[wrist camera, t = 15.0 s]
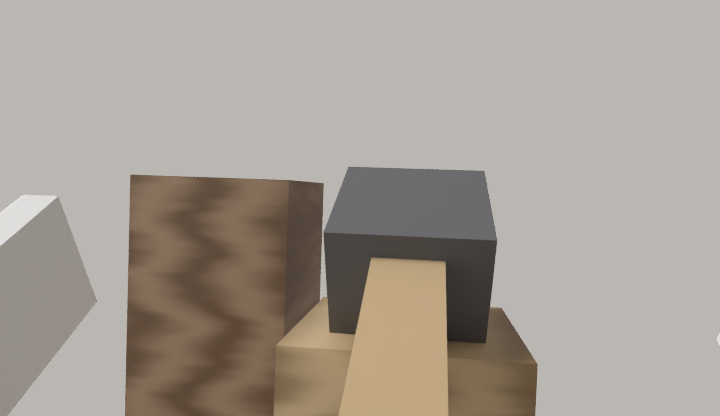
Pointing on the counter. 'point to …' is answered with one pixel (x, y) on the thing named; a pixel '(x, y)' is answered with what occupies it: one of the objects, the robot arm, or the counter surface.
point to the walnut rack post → (216, 290)
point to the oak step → (464, 363)
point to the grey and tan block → (407, 282)
